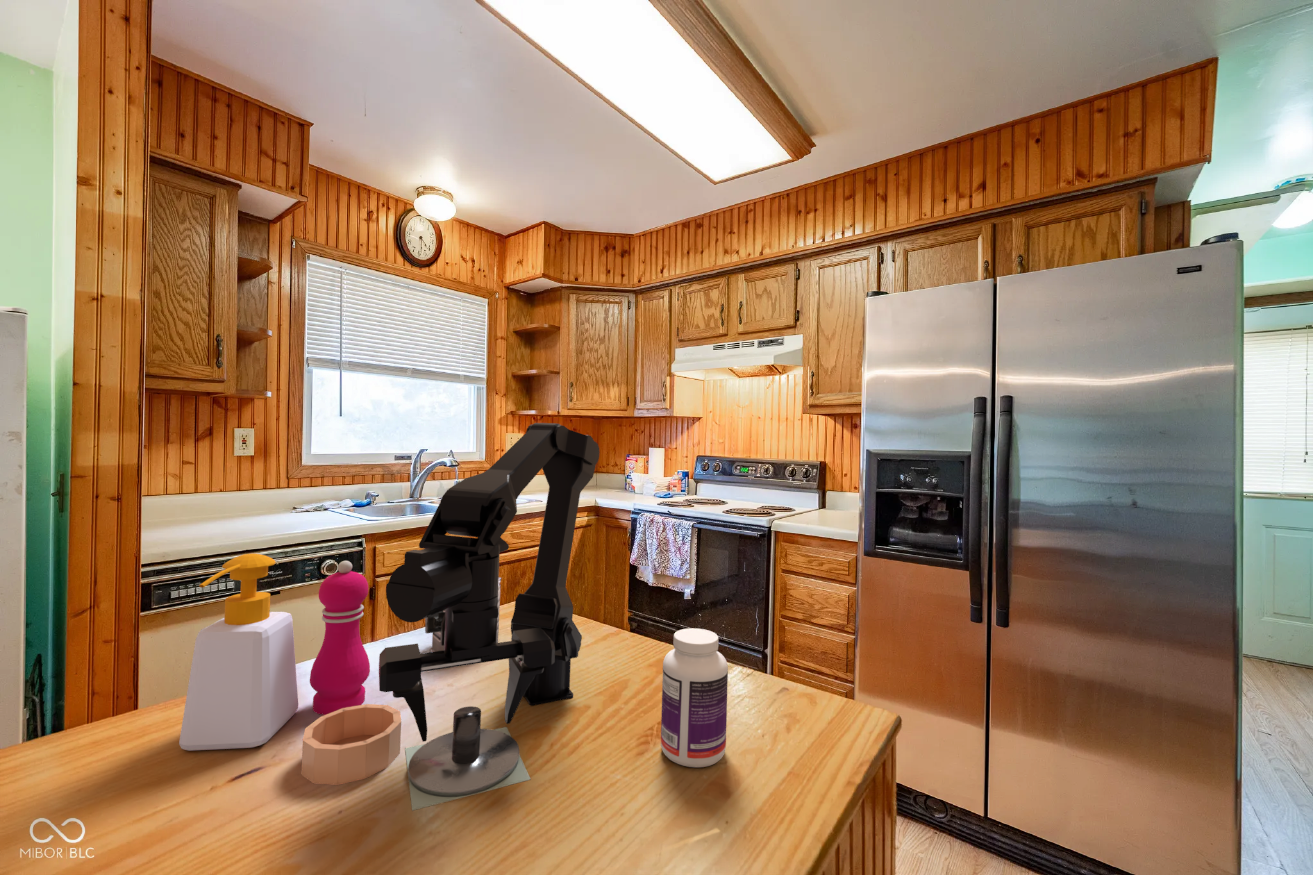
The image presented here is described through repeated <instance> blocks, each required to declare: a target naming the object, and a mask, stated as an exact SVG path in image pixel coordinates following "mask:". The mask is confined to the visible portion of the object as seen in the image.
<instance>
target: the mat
mask: <svg viewBox="0 0 1313 875" xmlns="http://www.w3.org/2000/svg"><path fill="white" fill-rule="evenodd" d="M493 730H496V731H500V732H503V733H505V734H507V735H509V736H511V733H510V731H509V729H508V727H507V726H504V727H498V728H495V729H493ZM511 737H512V736H511ZM425 744H426V743H424V744H417V745H414V746H409V747H405V748H404V750H405V751H404V752H405V759H406V766H407V768H406V769H407V772H408V771H409V762H410V760H411V758H412V756H413V755H414V753H415V752H416V751H417V750H418V749H419V748H421V747H422V746H423V745H425ZM408 779H409V777H408ZM528 781H531V777H530V775H529V773H528V771H527V769H526V766H525V763H524V761H523V759H522V757H521V755H520V754H519V762H518V765H517V767H516V768H515V770H514V771H513V773H512V774H511V775H510V776H509V777H508V778H506V779H505V780H504V781H502V782H501V783H499V784H497V785H496V786H494V787H492V788H490V789H487V790H485V791H482V792H479V793H475V794H471V795H467V796H460V797H438V796H432V795H428V794H425V793H423V792H421V791H419V790H417V789H416V788H415V787H414V786H413V785H412V784H411V782H410V781H409V780H408V784H409V785H408V786H409V796H410V803H411V811H412V812H413V811H416V810H420V809H425V808H429V807H431V806H436V805H440V804H443V803H447V802H450V801H451V802H452V801H454V800H458V799H463V798H466V797H469V796H473V795H478V794H483V793H485V792H489V791H494V790H496V789H500V788H505V787H508V786H512V785H515V784H519V783H523V782H528Z"/></svg>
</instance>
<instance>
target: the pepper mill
mask: <svg viewBox="0 0 1313 875" xmlns="http://www.w3.org/2000/svg"><path fill="white" fill-rule="evenodd" d="M352 569H353V564H352V562H350V561H349V560H343V561H340V562H339V564H338V565H337V570H338V572H335V573H332V574H330V575H328V576H327V577H326V578H325V579H323V581H322V582H321V584H320V585H319V586H320V587H319V588H318V600H319V602H320V603H321V605H323V606H324V608H323V609H322V610H321V613H322V616H321V620H322V621H323V622H324V623H325V624H324V626H325V628H324V629H325V630H324V638H323V640H322V641H323V642H322V645H321V646H320V650H319V652H318V654H317V655H316V658H315V659H314V662H313V664H312V667H311V669H310V674H309V676H310V677H309V684H310V686H311V688H312V689H313V690H314V691H315V692H316V693H314V695H313V698H312V711H313V712H314V713H315V714H318V715H321V716H324V715H327V714H329V713H332V712H334V711H337V710H339V709H342V708H347V707H352V706H358V705H364V702H365V701H366V687H365V686H364V685H363V684H364V683H365V682H366V681H367V679H368V678H369V676H370V674H371V673H370V672H371V664H370V659H369V656H368V653H367V651H366V649H365V647H364V644H363V642H362V638H361V635H360V633H361V632H360V620H361V618H362V617H363V616H364V612H363V610H364V609H365V607H364V605H363V604H362V603H363V602H364V600H366V598H367V597H368V595H369V583H368V581H367V578H366V577H365V576H364V575H363V574H362V573H359V572H357V571H353V570H352Z"/></svg>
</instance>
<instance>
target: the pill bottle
mask: <svg viewBox="0 0 1313 875" xmlns="http://www.w3.org/2000/svg"><path fill="white" fill-rule="evenodd" d="M672 641H673V642H672V643H673V644H672V645H673V649H671V650H669V652H667V653H666V655H665V656H664V659H663V661H662V688H661V719H660V720H661V723H660V726H661V727H660V747H661V750H662V752H663V754H664V755H665V757H666V758H668V760H670V761H672V762H673V763H675V764H677V765H679V766H683V767H688V768H704V767H710V766H712V765H715V764H716V763H718V762H719V761H720V760H721V759H722V758H723V756H724V754H725V753H726V748H727V721H728V720H727V718H728V715H727V714H728V680H729V676H728V675H729V666H728V662H727V659H726V658H725V656H724V655H723V654H722V653H721V652H719V651H718V650H719V635H717V633H716V632H713V631H711V630H710V629H709V630H707V629H704V628H696V627H695V628H692V627H689V628H683V629H679V630H677V631H675V633H673V640H672Z"/></svg>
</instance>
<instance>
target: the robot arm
mask: <svg viewBox="0 0 1313 875" xmlns="http://www.w3.org/2000/svg"><path fill="white" fill-rule="evenodd" d="M600 454H601V452H600V446H599V444H598V443H597V442H596V441H595V440H594V439H593V437H592V435H589V434H583V433H581V432H579V431H574V430H572V429H569V428H568V427H566V426H565V425H562V424H560V423H557V422H556V423H553V422H552V423H551V422H550V423H548V422H534V423H533V424H529V425H528V426H527V428H526V431H525V433H524V434H523V435H522V436H521V437H520V438H519V439H518V440H517V441H516V442H514V444H513V445H512V446H511V447H510V448H508V450H507V451H506V452H505V453H504V454H503V455H502V456H500V458H498V459H497V460H496V461H495V463H494V464H492V466H490V468H488V469H487V470H485V471H484V472H481V473H479V474H475V475H472V476H468V477H466V478H464V479H462V480H460V481H459V482H457V483H456V484H454V485H453V486H450V488H448V489H447V490H446V491H445V493H444V494H443V495H442V497H441V498H440V502H439V504H438V505H437V508H436V510H435V511H434V513H433V516H432V518H431V520H430V522H429V524H428V526H427V527H426V529H425V532H424V533H423V535H422V537H421V539H420V541H419V543H418V548H420V549H411V550H408V551H406V552H405V553H404V561H403V562H404V564H401V565H399V566H398V567H396V568H395V570H393V572H392V573H391V574H390V576H389V580H388V582H387V583H386V585H385V596H386V600H387V605H388V607H389V608H390V611H391V612H392V613H393V614H394V616H396V617H397V618H398V619H399V620H401V621H403V622H405V623H417V622H420V621H421V620H424V621H425V622H424V623H425V624H424V632H425V634H433V633H435V632H441V641H440V642H441V645H442V646H443V645H444V650H443V651H436V652H432V651H431V652H422V653H420V652H421V651H420V647H419V643H411V644H404V645H395V646H388V647H384V649H383V650H382V651H381V652H380V653H379V657H378V659H379V661H378V682H379V683H378V687H379V692H382V693H391V692H392V697H393V698H395V699H397V698H398V699H399V698H400V699H401V698H403V700H405V702H406V704H407V706H408V707H409V709H410V712H412V714H413V717H414V720H415V723H416V726H417V729H418V732H419V735H420V738H421V741H422V742H426V741H427V738H428V721H427V711H426V702H425V701H426V700H425V691H424V684H423V681H422V680H423V679H422V673H423V672H424V673H425V672H430V671H436V670H437V671H438V670H444V669H449V668H457V667H462V666H470V665H476V664H482V663H488V662H489V663H491V662H494V661H495V662H496V661H502V660H508V680H507V687H506V695H505V696H506V697H505V703H504V721H505V724H506V725H508V724H511V722H512V720H513V718H514V716H515V714H516V711H517V710H518V708H519V705H520V704H521V701H522V699H523V697H524V698H525V700H526V702H527V703H528V705H529V706H530V707H533V706H539V705H543V704H549V703H554V702H555V703H556V702H559V701H565V700H568V699H573V698H574V692H572V690H571V689H570V688H571V687H570V686H571V663H572V661H571V660H572V659H577V658H578V657H579V653H580V651H581V646H582V638H583V635H582V634H581V632H580V630H579V629H578V627H577V626H576V624H575V622H574V620H573V614H574V613H573V612H574V605H573V602H572V600H571V597H570V595H569V592H568V589H567V587H566V586H567V578H568V574H569V566H570V559H571V554H572V548H573V542H574V534H575V529H576V523H577V522H576V521H577V517H578V516H577V515H578V509H579V503H580V498H581V492H582V491H583V490H584V488H586V487H587V485H588V484H589V483H590V481H592V479H593V478H594V474H595V470H596V465H597V464H598V462H599V460H600ZM541 470H542V472H543V474H544V477H545V479H546V482H547V485H548V493H547V498H546V504H545V510H544V515H543V523H542V527H541V532H540V539H539V544H538V548H537V550H538V551H537V556H536V561H535V562H536V563H535V568H534V572H533V577H532V578H533V579H532V583H531V584H530V586H529V587H528V588H527V589H526V590H525V591H524V592H523V593H518V595H517V596H516V598H515V600H514V611H513V615H512V617H511V619H510V620H511V621H510V623H511V624H510V632H511V633H510V634H511V640H510V641H502V642H498V643H496V634H497V618H498V582H499V577H500V553H503V552H505V551H508V550H509V548H510V545H509V544H508V542H507V541H505V540H504V539H503V538H502V536H503V535H504V533H505V532H506V531H507V529H508V527H509V526H510V524H511V522H512V521H513V519H514V518H515V517H516V514H517V512H518V506H517V499H518V498H519V497H520V494H522V492H523V491H524V490H525V489H526V488H527V486H528V485H529V484H530V483H531V482H532V480H533V479H534V478H535V477H536V476H537V475H538V474H539V472H541ZM448 534H449V535H448ZM445 609H446V611H445V612H443V610H445Z"/></svg>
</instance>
